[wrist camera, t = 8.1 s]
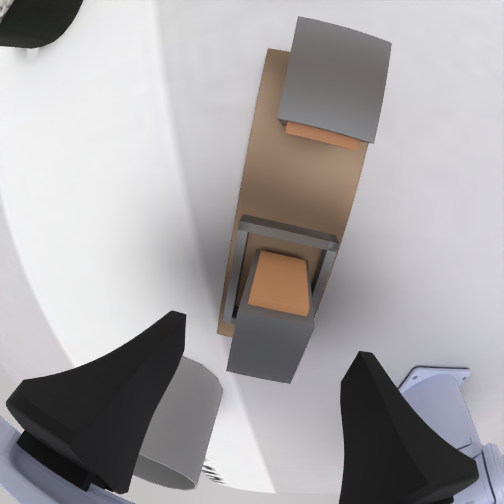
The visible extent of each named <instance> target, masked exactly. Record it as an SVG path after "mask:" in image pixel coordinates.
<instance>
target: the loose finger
mask: <svg viewBox="0 0 504 504" xmlns="http://www.w3.org/2000/svg"><path fill="white" fill-rule="evenodd" d="M313 329H314V316H313V304H312V293H311V283H310V273H309V264H308V260H305V259H301V258H296V257H292V256H287V255H283V254H278V253H274V252H269V251H265V250H260V249H256V252H255V255H254V259H253V262H252V265H251V269H250V272H249V275H248V279H247V282H246V285H245V289H244V292H243V295H242V299H241V302H240V305H239V309H238V313H237V318H236V323H235V328H234V333H233V339H232V344H231V349H230V354H229V360H228V365H227V370H226V371H229V372H233V373H238V374H242V375H247V376H251V377H256V378H261V379H266V380H272V381H277V382H283V383H289V384H290V383H291V380H292V378H293V376H294V374H295V372H296V369H297V367H298V365H299V363H300V360H301V358H302V356H303V353H304V351H305V349H306V346H307V344H308V342H309V339H310V337H311V334H312V332H313Z"/></svg>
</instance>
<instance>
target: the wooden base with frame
mask: <svg viewBox="0 0 504 504" xmlns="http://www.w3.org/2000/svg"><path fill="white" fill-rule="evenodd" d="M391 44H392V43H390V42H388V41H385V40H382V39H380V38H377V37H374V36H371V35H368V34H365V33H362V32H359V31H356V30H353V29H349V28H346V27H342V26H339V25H335V24H331V23H327V22H323V21H318V20H314V19H309V18H304V17H299V16H298V19H297V24H296V29H295V34H294V39H293V44H292V49H291V52H287V51H281V50H275V49H269V48H268V51H267V55H266V60H265V65H264V70H263V74H262V79H261V84H260V89H259V94H258V99H257V104H256V109H255V114H254V119H253V124H252V129H251V135H250V140H249V145H248V150H247V156H246V161H245V166H244V172H243V177H242V183H241V189H240V194H239V200H238V205H237V211H236V217H235V223H234V229H233V235H232V240H231V246H230V253H229V259H228V265H227V271H226V277H225V283H224V290H223V296H222V303H221V309H220V316H219V322H218V329H217V334H220V335H225V336H229V337H233V333H234V328H235V323H236V318H237V313H238V309H239V305H240V302H241V299H242V295H243V292H244V289H245V285H246V282H247V279H248V275H249V272H250V269H251V265H252V262H253V259H254V255H255V252H256V249H260V250H265V251H269V252H274V253H278V254H283V255H287V256H292V257H296V258H301V259H305V260H308V264H309V273H310V283H311V293H312V304H313V316H314V317H315V314H316V312H317V309H318V306H319V304H320V301H321V298H322V296H323V293H324V290H325V288H326V285H327V282H328V279H329V276H330V273H331V271H332V268H333V265H334V262H335V259H336V256H337V253H338V250H339V247H340V244H341V241H342V237H343V234H344V231H345V228H346V224H347V221H348V218H349V214H350V211H351V208H352V204H353V201H354V197H355V194H356V190H357V186H358V183H359V179H360V175H361V171H362V167H363V163H364V159H365V155H366V151H367V147H368V143H373V144H374V140H375V136H376V131H377V127H378V122H379V117H380V112H381V107H382V102H383V96H384V91H385V85H386V79H387V73H388V66H389V59H390V52H391Z"/></svg>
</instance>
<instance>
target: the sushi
mask: <svg viewBox="0 0 504 504" xmlns="http://www.w3.org/2000/svg"><path fill="white" fill-rule="evenodd" d="M82 1H83V0H0V46H7V47H20V48H30V49H31V48H37V47H41V46H44V45H46V44H49V43H51V42H53V41H55V40H56V39H57V38H58V37H59V36H60V35H62V33H63V32H64V31H65V30H66V28H67V27H68V26H69V25H70V24H71V22H72V20H73V19H74V17H75V16H76V14H77V12H78V9H79V7H80V5H81V3H82Z"/></svg>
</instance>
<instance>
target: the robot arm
mask: <svg viewBox="0 0 504 504" xmlns="http://www.w3.org/2000/svg"><path fill="white" fill-rule="evenodd" d="M185 327H186V314H183V313H179V312H176V311H170V312H169V313H167V314H166V315H165V316H164V317H162V318H161V319H160V320H158V321H157V322H156V323H154V324H153V325H152V326H150V327H149V328H148V329H146V330H145V331H143V332H142V333H141V334H139V335H138V336H136V337H135V338H133V339H132V340H130V341H129V342H127V343H126V344H124V345H122V346H121V347H119V348H117V349H116V350H114V351H112V352H110V353H108V354H107V355H105V356H103V357H101V358H98V359H96V360H94V361H92V362H89V363H87V364H85V365H82V366H79V367H77V368H74V369H71V370H68V371H65V372H61V373H57V374H54V375H49V376H45V377H39V378H33V379H26V380H23V381H22V382H21V384H20V385H19V386H18V387H17V388H16V390H15V391H14V392H13V394H12V395H11V396H10V397H9V398H8V400H7V401H6V406H7V408H8V410H9V411H10V413H11V414H12V415H13V417H14V418H15V419H16V420H17V422H18V423H19V424H20V425H21V426H22V427H23V429H25V430H24V432H23V433H22V435H21V434H20V433H19V432H18V431H17V430H16V429H15V428H14V427H13V426H12V425H10V424H9V423H8V422H7V421H6V420H5V419H4V418H2V417H1V416H0V485H1V486H2V487H3V488H4V489H5V490H6V491H7V492H8V493H9V494H10V495H11V496H12V497H13V498H14V499H15V500H16V501H17V502H18V503H19V504H135V503H132V502H130V501H128V500H125V499H123V498H121V497H118V496H116V495H114V494H112V493H110V492H108V491H106V490H105V489H107V490H109V491H111V492H116V493H118V494H124V493H127V492H128V490H129V486H130V482H131V478H132V475H133V471H134V468H135V465H136V461H137V458H138V455H139V452H140V449H141V446H142V443H143V440H144V438H145V435H146V432H147V429H148V427H149V424H150V422H151V419H152V417H153V414H154V412H155V410H156V408H157V406H158V404H159V402H160V401H161V399H162V397H163V395H164V393H165V391H166V389H167V387H168V386H169V384H170V382H171V380H172V378H173V376H174V374H175V372H176V370H177V368H178V365H179V363H180V360H181V358H182V355H183V352H184V348H185ZM470 374H471V371H470V369H441V368H421V367H418V368H415V369H414V370H413V371H412V372H411V374H410V375H409V376H408V378H407V379H406V380H405V382H404V383H403V384H402V386H401V387H400V388H399V389H397V387H396V386H395V385H394V383H393V382H392V380H391V379H390V377H389V376H388V375H387V373H386V372H385V370H384V369H383V367H382V366H381V364H380V363H379V362H378V360H377V359H376V357H375V356H374V355H373V353H370V352H363V351H359V352H358V354H357V356H356V358H355V359H354V361H353V363H352V365H351V366H350V368H349V370H348V371H347V373H346V375H345V376H344V378H343V379H342V381H341V393H340V405H341V415H342V425H343V436H344V470H343V479H342V488H341V494H340V500H339V504H504V462H503V459H502V456H501V453H500V451H499V449H498V447H497V445H496V444H491V443H487V444H486V445H485V446H483V445H482V444H481V442H480V439H479V436H478V434H477V431H476V428H475V425H474V423H473V420H472V417H471V415H470V412H469V410H468V407H467V405H466V402H465V400H464V397H463V395H462V393H461V391H460V386H461V385H462V384H463V383H464V381H465V380H466V379H467V378H468V377H469V375H470Z"/></svg>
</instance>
